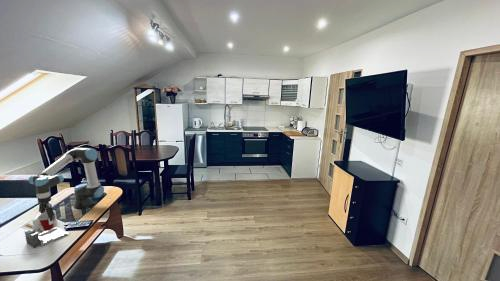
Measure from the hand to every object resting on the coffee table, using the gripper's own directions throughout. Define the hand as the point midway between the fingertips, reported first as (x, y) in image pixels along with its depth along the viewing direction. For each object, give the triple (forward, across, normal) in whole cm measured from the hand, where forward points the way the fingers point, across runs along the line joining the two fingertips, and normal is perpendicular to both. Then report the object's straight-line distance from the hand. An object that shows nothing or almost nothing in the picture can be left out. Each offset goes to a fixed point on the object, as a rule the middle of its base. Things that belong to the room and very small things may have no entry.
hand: (47, 222), depth 169 cm
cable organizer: (+14, -21, +6) cm, 26 cm away
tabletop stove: (+14, 0, -2) cm, 14 cm away
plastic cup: (+6, 0, 0) cm, 6 cm away
